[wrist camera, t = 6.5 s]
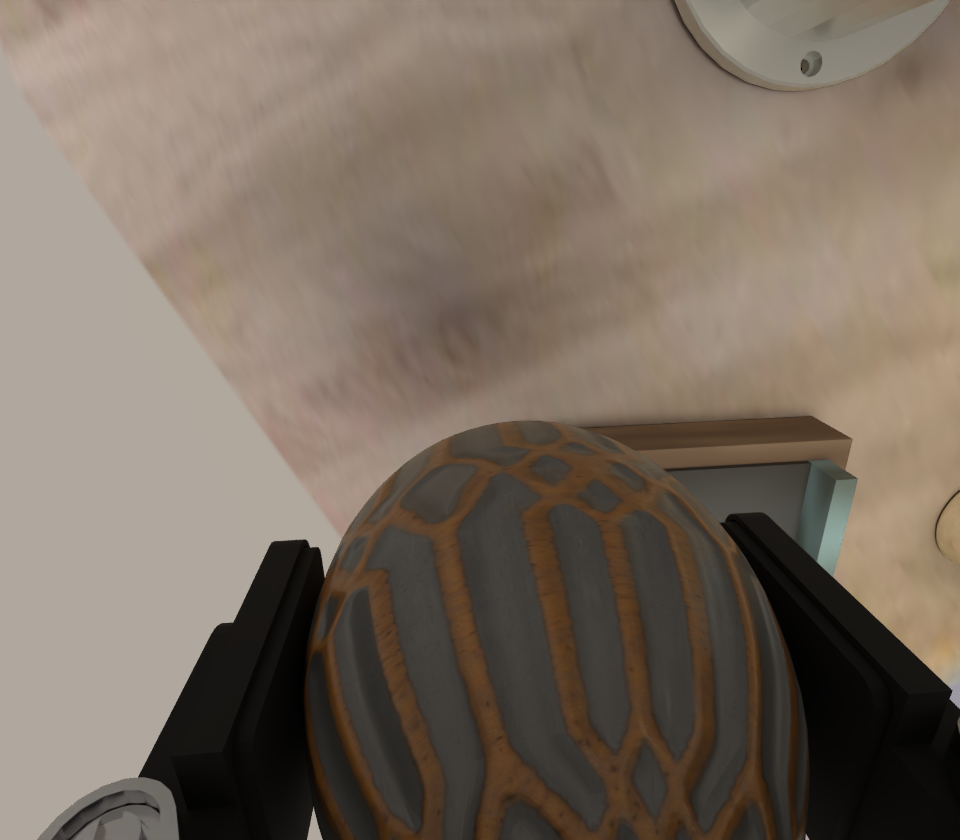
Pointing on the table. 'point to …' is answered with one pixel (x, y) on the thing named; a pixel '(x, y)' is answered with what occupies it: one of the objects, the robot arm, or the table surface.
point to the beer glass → (950, 530)
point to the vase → (547, 657)
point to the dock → (759, 472)
